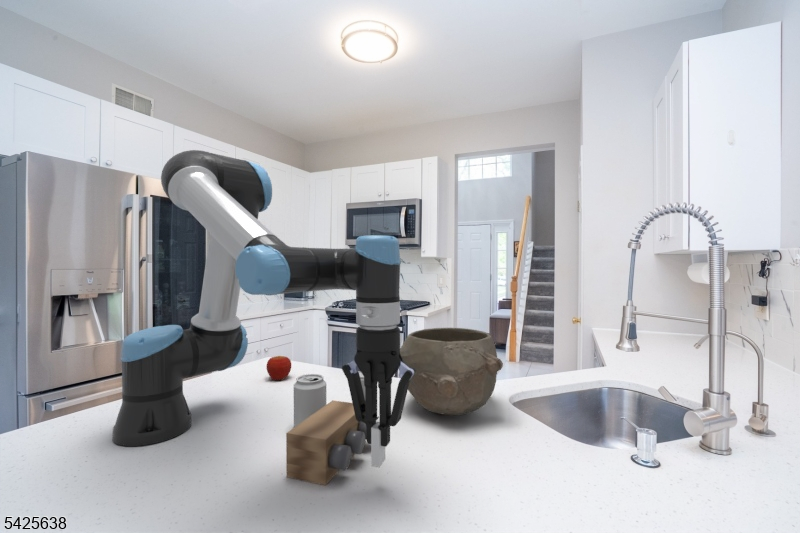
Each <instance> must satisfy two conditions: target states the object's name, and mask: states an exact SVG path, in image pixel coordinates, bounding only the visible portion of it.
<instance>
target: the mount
mask: <svg viewBox="0 0 800 533" xmlns="http://www.w3.org/2000/svg"><path fill="white" fill-rule="evenodd" d="M358 423H359V421H357V420H356V417H355V412H354V408H353V403H352V402H348V401H347V402H346V401H340V400H333V399H332V400H331V401H329V402H328V403H326V405H325V406H324V407H322V408H321V409H320V410H318V411H317V412H315V413H314V414H313V415H311V416H310V417H308V418H307V419H305V420H304V421H303V422H301V423H300V424H298V425H297V426H296V427H294V426H293V427H292V428H291V429H289V431H286V434H285V435H286V436H285V437H286V438H285V439H286V441H285V442H286V444H285V445H286V448H285V449H286V457H285V458H286V463H285V464H286V478H289V479H295V480H299V481H304V482H308V483H311V484H313V483H314V484H317V485H323V486H326V485H328V484H329V482H330V481H331V480H332V479H333V478H334V477H335V476H336V475H337V474H338V473H339V472H340V470H337V469H332V468H330V467H329V464H328V458H329V450H330V449H331V448H332V446H333V445H334V444H341V445H344V436H345V435H346V434H347V433H348V432H349V430H355V431H358ZM365 443H367V440H366V439H365ZM354 455H355V454H354V453H351V458H352V457H353V456H354Z"/></svg>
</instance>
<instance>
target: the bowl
mask: <svg viewBox="0 0 800 533" xmlns="http://www.w3.org/2000/svg"><path fill="white" fill-rule="evenodd" d="M400 354H401V357H402V359H403V363H404V364H405V365H406V366H408V367H409V368H411V367H412V368H414V369H415V374H414V375H413V377H412V378H411V380H410V382H409V386H408V390H407V392H409V393H410V394H411V397H412V398H413V399H414V400H415V402H416V403H418V404H419V405H421V407H423V408H425V410H428V411H429V412H432V413H436V414H439V415H447V416H462V415H465V414H469V413H473V412H475V411H477V410H480V408H482V407H484V406H485V405H486V404H487V403H488V401H489V400H490V399H491V397H492V395H493V393H494V390H495V387H496V383H497V375H498V372H499V371H500V370H502V369H503V366H504V363H503V360H501V358H499V357H498V354H497V348H496V344H495V341H494V338H493V337H492V335H490V334H489V333H488V332H485V331H483V330H477V329H472V328H466V327H465V328H463V327H433V328H432V327H431V328H424V329H421V330H420V329H419V330H415V331H413V332H411V333H409V334H408V335H407V336H406V338H405V340H404V342H403V343H402V345H400Z"/></svg>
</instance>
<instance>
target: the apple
mask: <svg viewBox="0 0 800 533" xmlns="http://www.w3.org/2000/svg"><path fill="white" fill-rule="evenodd" d="M291 369H292V361H291V359H290V358H289V357H287V356H282V355H277V356H271V357H270V358H269V359H268V360H267V363H266V371H267V375H269V377H270V378H271V379H272V380H274V381H282V380H284V379H286V377H289V374H290V373H291Z"/></svg>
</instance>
